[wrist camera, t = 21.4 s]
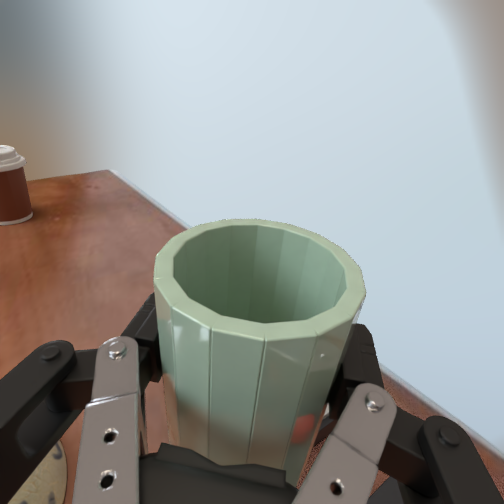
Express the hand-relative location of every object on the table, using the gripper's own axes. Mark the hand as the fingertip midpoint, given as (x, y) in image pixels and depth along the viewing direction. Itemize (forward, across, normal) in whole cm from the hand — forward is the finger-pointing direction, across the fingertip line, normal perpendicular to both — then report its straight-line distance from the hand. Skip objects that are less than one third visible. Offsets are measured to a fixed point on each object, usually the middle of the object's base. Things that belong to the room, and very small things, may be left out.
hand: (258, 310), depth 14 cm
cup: (-2, 0, +6) cm, 6 cm away
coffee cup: (+33, +49, +18) cm, 62 cm away
